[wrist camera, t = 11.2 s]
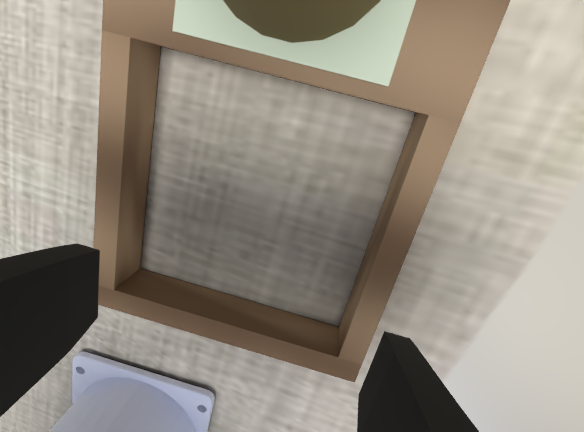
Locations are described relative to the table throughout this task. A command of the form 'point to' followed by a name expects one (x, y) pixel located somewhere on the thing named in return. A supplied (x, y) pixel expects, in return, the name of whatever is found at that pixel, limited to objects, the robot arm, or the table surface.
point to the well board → (305, 69)
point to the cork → (300, 17)
